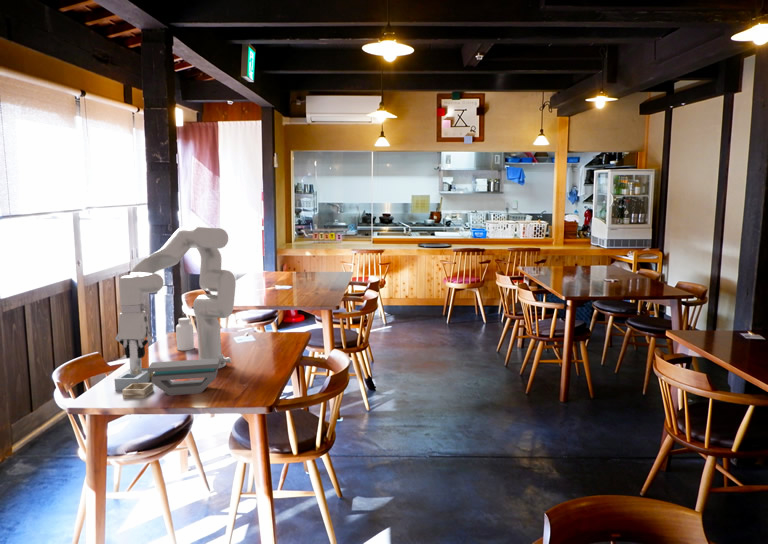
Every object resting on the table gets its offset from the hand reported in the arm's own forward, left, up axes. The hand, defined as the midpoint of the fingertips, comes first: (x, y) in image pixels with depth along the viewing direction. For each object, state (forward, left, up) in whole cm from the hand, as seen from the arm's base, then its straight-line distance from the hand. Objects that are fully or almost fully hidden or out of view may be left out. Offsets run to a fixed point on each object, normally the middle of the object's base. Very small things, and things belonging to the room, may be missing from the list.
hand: (135, 356), depth 219 cm
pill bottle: (+6, -66, -15) cm, 67 cm away
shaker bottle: (+12, -29, -15) cm, 34 cm away
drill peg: (0, 0, -6) cm, 6 cm away
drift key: (+3, -17, -14) cm, 22 cm away
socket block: (+6, -12, -14) cm, 20 cm away
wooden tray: (0, 0, -14) cm, 14 cm away
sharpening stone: (-17, -4, -15) cm, 23 cm away
